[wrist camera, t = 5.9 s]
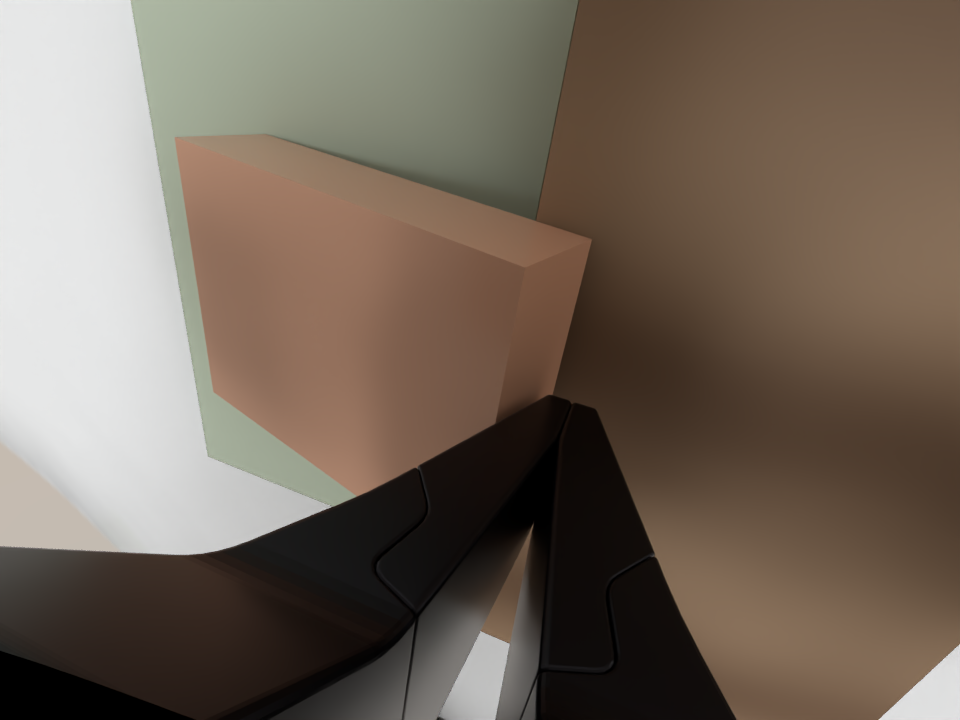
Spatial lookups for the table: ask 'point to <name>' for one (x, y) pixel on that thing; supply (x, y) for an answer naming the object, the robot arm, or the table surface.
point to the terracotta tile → (368, 304)
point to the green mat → (351, 123)
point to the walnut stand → (774, 328)
